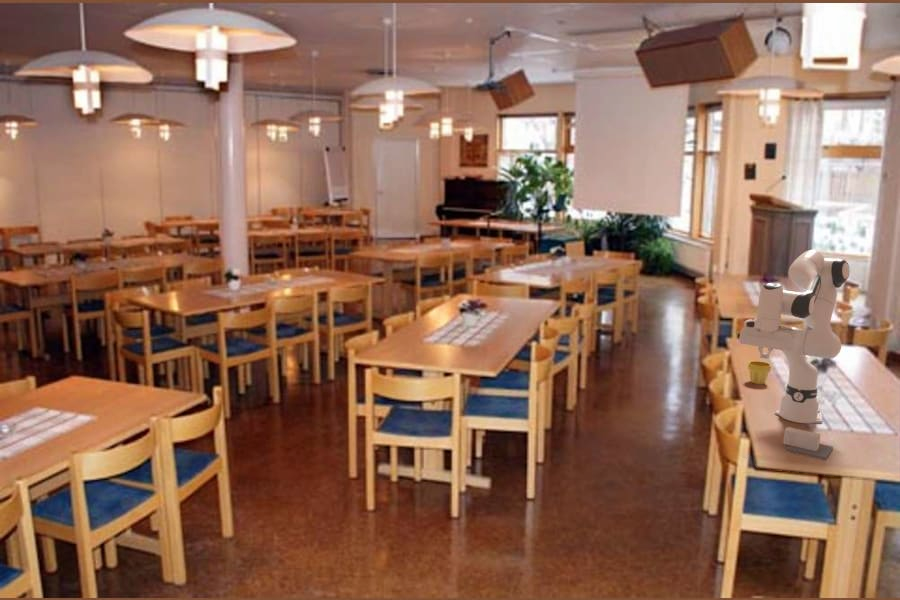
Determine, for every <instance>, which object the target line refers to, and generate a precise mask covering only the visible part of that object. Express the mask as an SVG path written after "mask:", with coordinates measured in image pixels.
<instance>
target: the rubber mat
mask: <svg viewBox="0 0 900 600" xmlns="http://www.w3.org/2000/svg"><path fill="white" fill-rule="evenodd" d="M833 449H834V446H831V445H827V444H823V443H819V448H818V450H817V451H812V450H807V449H803V448H799V447H795V446H791V445H788V446H787V447H786V449H785V451H786V452H788V451H789V452H788V453H792V452H793V454H796V453H798V454H797V455H801V454H802V455H801V456H805V455H806V456H805V457H810V456H811V458H814V457H815V459H818V458H820V459H819V460H823V459H824V460H823V461H827V460H826V459H828V458H829V457H830V455H831V453H832V452H833Z"/></svg>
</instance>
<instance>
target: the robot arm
mask: <svg viewBox="0 0 900 600" xmlns="http://www.w3.org/2000/svg"><path fill="white" fill-rule="evenodd" d="M850 273H851V272H850V265H849V262H847V260H845V259H843V258H826V257H825V256H824V255H823V254H822V252H821V251H818V250H817V249H816V250H815V249H809V250H805V252H803V253H801V254H800V255H799V256H798V257H797V258H796V259H794V261H793V262H792V263H791V265H790V266H789V269H788V278H789V280H790V282H791V283H792V284H793V285H795V286H796V287H798V288H801V289H804V290H805V291H803V292H800V291H799V292H798V291H792V290H791V291H790V290H786V289H784V287H783V285H782V284H780V283H777V282H766V283H764V284H762V286H761V288H760V292H759V296H758V303H757V304H758V312H757V314H756V317H755V318H750V319H747V320H745V321H744V322H743V327H742V328H741V330H740V333H739V339H738V341H739V343H740V344H741V345H745V346H747V345H748V346H753V347H757V350H758V352H759V354H760V358H761V359H765V360H769V358H770V354H771V353H772V351H773V350H779V351H781V353H783V355H784V356H785V358H786V360H787V364H788V383H787V385H786V388H785V389H786V393H785V394H783V396H781V400H780V407H779V409H777V410H775V412H774V414H775V415H777V416H780V417H781V418H782V419H784V420H787V421H789V422H794V423H799V424H822V423H823V414H822V411H821V410H820V409H819V404H820V403H819V400H818V398H817V396H818V388H817V386H818V379H819V371H818V369H817V367H816V366H815V365H814V364H812V363H811V362H809V361H808V360H807V357H808V356H809V357H812V358H813V357H814V358H818V359H819V358H820V359H834V358H836V357H838V355H839V353H840V352H841V349H842V342H841V338H839V336H838V335H837V334H836V333H835V332H834V331H833V330H832V327H831V321H832V318H833V314H834V313H833V312H834V310H835V308H836V304H837V297H838V292H837V291H838V290H837V289H838V288H841V287H842V285H843V284H845V283H846V281H847V280H848V278H849V276H850ZM782 315H784V316H788V317H789V316H790V317H795V318H798V319H802V320H803V322H804V323H805V324H806V326H808V327H809V328H811V329H807V328H800V327H794V326H793V327H792V326H789V327H787V326H782V325H781V322H782ZM764 348H765V349H767V351H768V352H767V353H765V352H764V351H763V349H764ZM806 356H807V357H806Z"/></svg>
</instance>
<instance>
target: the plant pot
mask: <svg viewBox="0 0 900 600" xmlns="http://www.w3.org/2000/svg"><path fill="white" fill-rule="evenodd" d="M747 369H748V371H749V376H750V377H749V379H750V383H752V384H756V385H765V384H766V381H767V378H768V377H769V376H768V375H769V373H770V372H771V369H772V364H771V363H769V362H765V361H761V360H751V361H749V362H748V366H747Z"/></svg>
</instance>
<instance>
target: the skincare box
mask: <svg viewBox="0 0 900 600" xmlns="http://www.w3.org/2000/svg"><path fill="white" fill-rule="evenodd" d="M820 440H821V433H819V432H818V433H817V432H813V431H809V430H803V429H799V428H795V427H790V426H787V427H786V428H785V429H784V435H783V444H784V445H788V446H789V445H791V446H795V447H799V448H803V449H807V450H812V451H817V450H818V448H819V444H820Z"/></svg>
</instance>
